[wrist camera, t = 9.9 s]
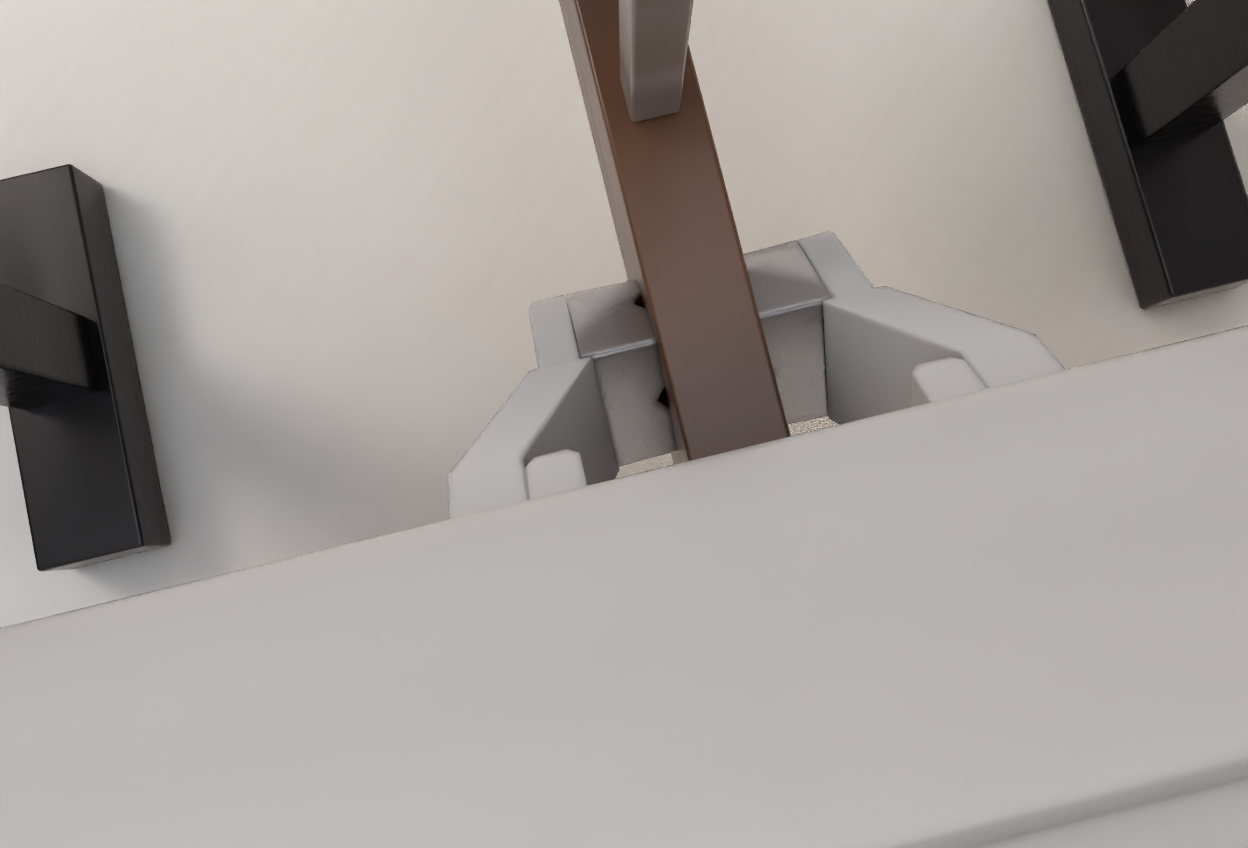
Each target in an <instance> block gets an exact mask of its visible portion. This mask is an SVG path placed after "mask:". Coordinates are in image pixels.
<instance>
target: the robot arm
mask: <svg viewBox="0 0 1248 848" xmlns="http://www.w3.org/2000/svg"><path fill="white" fill-rule="evenodd" d="M743 255H744V259H745V263H746V267H747V271H748V275H749V278H750V282H751V286H752V290H753V294H754V298H755V301H756V305H757V309H758V313H759V317H760V321H761V324H762V328H763V332H764V336H765V340H766V344H767V348H768V351H769V355H770V359H771V363H772V367H773V371H774V374H775V378H776V382H777V386H778V390H779V394H780V397H781V401H782V405H783V409H784V413H785V417H786V420H787V424H792V423H796V422H801V421H806V420H810V419H815V418H820V417H824V416H829V419H831V420H833V421H834V422H836V423H838V424H839V425H835V426H831V427H827V428H823V429H819V430H815V431H811V432H807V433H802V434H798V435H794V436H790V437H786V438H782V439H778V440H774V441H769V442H765V443H761V444H757V445H753V446H749V447H745V448H741V449H737V450H732V451H728V452H724V453H720V454H716V455H712V456H708V457H704V458H699V459H695V460H691V461H687V462H683V463H679V464H675V465H671V466H666V467H662V468H658V469H654V470H650V471H646V472H642V473H638V474H634V475H629V476H625V477H621V478H617V479H615V477H616V475H617V473H618V471H619V467H618V466H622V465H626V464H629V463H633V462H637V461H641V460H644V459H648V458H652V457H655V456H659V455H663V454H666V453H670V452H674V451H677V446H676V440H675V435H674V430H673V424H672V419H671V413H670V409H669V406H668V403H667V400H666V397H665V393H664V390H663V389H664V387H665V381H664V375H663V370H662V365H661V359H660V354H659V348H658V343H657V339H656V336H655V333H654V330H653V327H652V324H651V321H650V318H649V315H648V312H647V310H646V309H644V307H643V302H642V297H641V292H640V289H639V286H638V284H637V281H636V280H632V281H627V282H622V283H618V284H613V285H609V286H604V287H599V288H595V289H590V290H586V291H581V292H577V293H572V294H567V295H566V296H567V300H566V297H565V296H564V295H561V296H557V297H553V298H549V299H545V300H541V301H537V302H534V303H530V304H529V308H528V309H529V315H530V320H531V326H532V332H533V338H534V344H535V350H536V356H537V362H538V368H539V369H536V370H532V371H529V372H528V373H527V374H526V376H525V377H524V378H523V380H522V381H521V382H520V383H519V385H518V386H517V387H516V389H515V390H514V391H513V392H512V394H511V395H510V396H509V398H508V399H507V400H506V401H505V403H504V404H503V405H502V407H501V408H500V409H499V410H498V412H497V413H496V414H495V416H494V417H493V418H492V419H491V421H490V422H489V423H488V425H487V426H486V427H485V428H484V430H483V431H482V432H481V434H480V435H479V436H478V437H477V439H476V440H475V441H474V443H473V444H472V445H471V446H470V448H469V449H468V450H467V452H466V453H465V454H464V455H463V457H462V458H461V459H460V461H459V462H458V463H457V464H456V466H455V467H454V468H453V470H452V471H451V472H450V474H449V475H448V496H449V519H448V520H444V521H440V522H436V523H432V524H428V525H423V526H419V527H415V528H411V529H407V530H403V531H399V532H395V533H390V534H386V535H382V536H378V537H374V538H370V539H366V540H362V541H358V542H353V543H349V544H345V545H341V546H337V547H333V548H329V549H325V550H321V551H316V552H312V553H308V554H304V555H300V556H296V557H292V558H288V559H284V560H279V561H275V562H271V563H267V564H263V565H259V566H255V567H250V568H246V569H242V570H238V571H234V572H230V573H226V574H222V575H217V576H213V577H209V578H205V579H201V580H197V581H193V582H189V583H184V584H180V585H176V586H172V587H168V588H164V589H160V590H156V591H151V592H147V593H143V594H139V595H135V596H131V597H127V598H122V599H118V600H114V601H110V602H106V603H102V604H98V605H94V606H89V607H85V608H81V609H77V610H73V611H69V612H65V613H61V614H56V615H52V616H48V617H44V618H40V619H36V620H32V621H28V622H23V623H19V624H15V625H11V626H7V627H3V628H0V848H1248V325H1247V326H1243V327H1239V328H1235V329H1231V330H1227V331H1222V332H1218V333H1214V334H1210V335H1206V336H1202V337H1198V338H1194V339H1189V340H1185V341H1181V342H1177V343H1173V344H1169V345H1165V346H1161V347H1156V348H1152V349H1148V350H1144V351H1140V352H1136V353H1132V354H1128V355H1123V356H1119V357H1115V358H1111V359H1107V360H1103V361H1099V362H1095V363H1091V364H1086V365H1082V366H1078V367H1074V368H1070V369H1065V368H1064V366H1063V365H1062V364H1061V363H1060V362H1059V361H1058V360H1057V359H1056V357H1055V356H1054V355H1053V354H1052V353H1051V352H1050V351H1049V350H1048V348H1047V347H1046V346H1045V345H1044V344H1043V343H1042V342H1041V341H1040V339H1039V338H1038V337H1037V336H1036V335H1035V334H1032V333H1029V332H1026V331H1023V330H1020V329H1017V328H1013V327H1010V326H1007V325H1004V324H1001V323H998V322H995V321H992V320H989V319H985V318H982V317H979V316H976V315H973V314H970V313H967V312H964V311H961V310H958V309H954V308H951V307H948V306H945V305H942V304H939V303H936V302H933V301H930V300H926V299H923V298H920V297H917V296H914V295H911V294H908V293H905V292H902V291H898V290H895V289H892V288H889V287H886V286H882V287H877V288H874V287H873V286H872V285H871V283H870V282H869V281H868V279H867V278H866V276H865V275H864V274H863V272H862V271H861V269H860V268H859V267H858V265H857V264H856V263H855V261H854V260H853V258H852V257H851V256H850V254H849V253H848V251H847V250H846V249H845V247H844V246H843V245H842V243H841V242H840V240H839V239H838V238H837V236H836V235H835V233H833V232H830V231H828V232H824V233H820V234H817V235H813V236H810V237H806V238H803V239H799V240H795V241H791V242H788V243H784V244H780V245H776V246H773V247H769V248H765V249H761V250H758V251H754V252H750V253H746V254H743ZM567 301H568V304H567ZM568 305H569V308H568ZM569 310H570V311H569ZM570 314H571V315H570Z"/></svg>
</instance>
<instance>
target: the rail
mask: <svg viewBox="0 0 1248 848" xmlns="http://www.w3.org/2000/svg"><path fill="white" fill-rule="evenodd" d="M1048 3H1049V6H1050V9H1051V13H1052V16H1053V19H1054V23H1055V26H1056V29H1057V32H1058V36H1059V39H1060V42H1061V46H1062V49H1063V52H1064V56H1065V59H1066V62H1067V66H1068V69H1069V72H1070V75H1071V79H1072V82H1073V85H1074V89H1075V92H1076V95H1077V99H1078V102H1079V105H1080V109H1081V112H1082V115H1083V118H1084V122H1085V125H1086V128H1087V132H1088V135H1089V138H1090V142H1091V145H1092V148H1093V152H1094V155H1095V158H1096V162H1097V165H1098V168H1099V171H1100V175H1101V178H1102V181H1103V185H1104V188H1105V191H1106V195H1107V198H1108V201H1109V205H1110V208H1111V211H1112V214H1113V218H1114V221H1115V224H1116V228H1117V231H1118V234H1119V238H1120V241H1121V244H1122V248H1123V251H1124V254H1125V257H1126V261H1127V264H1128V267H1129V271H1130V274H1131V277H1132V281H1133V284H1134V287H1135V291H1136V294H1137V297H1138V300H1139V304H1140V307H1141V309H1144V310H1147V309H1151V308H1155V307H1159V306H1163V305H1167V304H1171V303H1176V302H1180V301H1184V300H1188V299H1192V298H1196V297H1200V296H1204V295H1209V294H1213V293H1217V292H1221V291H1225V290H1229V289H1233V288H1236V287H1239V286H1242V285H1244V284H1247V283H1248V197H1247V194H1246V191H1245V188H1244V185H1243V181H1242V178H1241V175H1240V172H1239V169H1238V166H1237V162H1236V159H1235V156H1234V153H1233V150H1232V147H1231V144H1230V140H1229V137H1228V134H1227V131H1226V128H1225V125H1224V122H1223V120H1224V119H1225V118H1226V117H1228V116H1229V115H1231V114H1232V113H1234V112H1235V111H1237V110H1238V109H1240V108H1241V107H1243V106H1244V105H1245V104H1247V103H1248V0H1195V1H1194V2H1193V3H1192V4H1191V5H1190V6H1189V7H1188V8H1187V5H1186V2H1185V0H1048ZM0 405H2V406H8V407H9V413H10V419H11V424H12V430H13V435H14V441H15V446H16V452H17V458H18V463H19V469H20V474H21V480H22V486H23V491H24V497H25V502H26V508H27V514H28V519H29V525H30V530H31V536H32V541H33V547H34V553H35V558H36V564H37V569H38V570H39V571H52V570H65V569H75V568H79V567H83V566H87V565H91V564H96V563H100V562H104V561H108V560H112V559H116V558H120V557H125V556H129V555H133V554H137V553H141V552H145V551H149V550H154V549H158V548H162V547H166V546H168V545H170V537H169V532H168V527H167V522H166V517H165V511H164V506H163V501H162V496H161V491H160V486H159V480H158V475H157V470H156V465H155V460H154V455H153V449H152V444H151V439H150V434H149V429H148V424H147V418H146V413H145V408H144V403H143V398H142V392H141V387H140V382H139V377H138V372H137V367H136V361H135V356H134V351H133V346H132V341H131V336H130V330H129V325H128V320H127V315H126V310H125V305H124V299H123V294H122V289H121V284H120V279H119V274H118V268H117V263H116V258H115V253H114V248H113V242H112V237H111V232H110V227H109V222H108V217H107V211H106V206H105V201H104V196H103V191H102V186H101V184H100V183H99V182H97V181H96V180H94V179H93V178H91V177H90V176H88V175H87V174H85V173H83V172H82V171H80V170H79V169H77V168H76V167H74V166H73V165H70V164H67V165H63V166H59V167H55V168H50V169H46V170H42V171H37V172H33V173H29V174H24V175H20V176H16V177H11V178H7V179H3V180H0Z"/></svg>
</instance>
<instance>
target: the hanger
mask: <svg viewBox="0 0 1248 848" xmlns="http://www.w3.org/2000/svg"><path fill="white" fill-rule="evenodd" d="M559 2H560V6H561V11H562V15H563V19H564V23H565V27H566V31H567V35H568V39H569V43H570V47H571V51H572V55H573V59H574V63H575V67H576V71H577V75H578V79H579V83H580V87H581V91H582V95H583V99H584V103H585V107H586V111H587V115H588V120H589V124H590V128H591V132H592V136H593V140H594V144H595V148H596V152H597V156H598V160H599V164H600V168H601V172H602V176H603V180H604V184H605V188H606V192H607V196H608V200H609V204H610V208H611V212H612V216H613V220H614V224H615V228H616V233H617V237H618V241H619V245H620V249H621V253H622V257H623V261H624V265H625V269H626V273H627V277H628V281H632V280H636V281H637V284H638V286H639V289H640V292H641V297H642V302H643V307H644V309H646V310H647V312H648V315H649V318H650V321H651V324H652V327H653V330H654V333H655V336H656V339H657V343H658V348H659V354H660V359H661V365H662V370H663V375H664V381H665V387H664V389H663V390H664V393H665V397H666V400H667V403H668V406H669V409H670V413H671V419H672V424H673V430H674V435H675V440H676V446H677V451H674V452H671V455H672V459H673V463H674V465H675V464H679V463H683V462H687V461H691V460H695V459H699V458H704V457H708V456H712V455H716V454H720V453H724V452H728V451H732V450H737V449H741V448H745V447H749V446H753V445H757V444H761V443H765V442H769V441H774V440H778V439H782V438H786V437H790V432H789V428H788V424H787V420H786V417H785V413H784V409H783V405H782V401H781V397H780V394H779V390H778V386H777V382H776V378H775V374H774V371H773V367H772V363H771V359H770V355H769V351H768V348H767V344H766V340H765V336H764V332H763V328H762V324H761V321H760V317H759V313H758V309H757V305H756V301H755V298H754V294H753V290H752V286H751V282H750V278H749V275H748V271H747V267H746V263H745V259H744V255H743V252H742V248H741V244H740V240H739V236H738V232H737V229H736V225H735V221H734V217H733V213H732V209H731V205H730V202H729V198H728V194H727V190H726V186H725V182H724V179H723V175H722V171H721V167H720V163H719V159H718V156H717V152H716V148H715V144H714V140H713V136H712V133H711V129H710V125H709V121H708V117H707V113H706V110H705V106H704V102H703V98H702V94H701V90H700V86H699V83H698V79H697V75H696V71H695V67H694V63H693V60H692V56H691V52H690V48H689V44H688V39H689V31H690V23H691V14H692V6H693V0H559Z"/></svg>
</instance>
